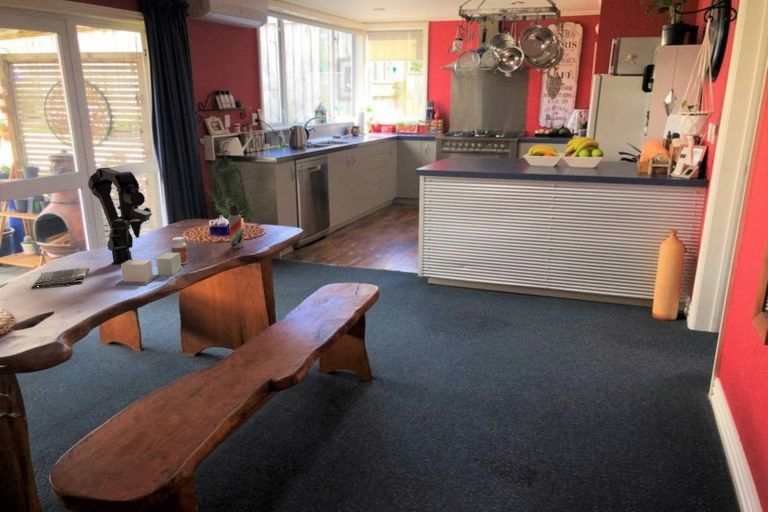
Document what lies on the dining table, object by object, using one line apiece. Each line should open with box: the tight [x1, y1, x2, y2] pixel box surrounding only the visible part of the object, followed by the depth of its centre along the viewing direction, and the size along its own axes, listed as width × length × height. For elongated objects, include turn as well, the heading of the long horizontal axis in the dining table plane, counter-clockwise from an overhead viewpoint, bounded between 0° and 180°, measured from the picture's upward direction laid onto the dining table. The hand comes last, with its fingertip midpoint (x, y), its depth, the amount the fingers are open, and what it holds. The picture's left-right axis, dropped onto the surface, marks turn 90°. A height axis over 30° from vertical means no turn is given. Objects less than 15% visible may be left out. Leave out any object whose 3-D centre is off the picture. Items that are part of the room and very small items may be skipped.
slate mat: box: [115, 274, 161, 286], centre depth 219 cm, size 12×12×1 cm
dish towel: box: [31, 267, 90, 289], centre depth 221 cm, size 19×18×3 cm
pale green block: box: [156, 252, 183, 277], centre depth 228 cm, size 9×6×7 cm, turn 177°
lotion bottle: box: [228, 205, 244, 249], centre depth 265 cm, size 6×6×20 cm
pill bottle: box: [170, 236, 189, 265], centre depth 240 cm, size 6×6×11 cm
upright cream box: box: [120, 259, 154, 282], centre depth 218 cm, size 9×6×7 cm, turn 86°
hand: (132, 240), depth 232 cm, fingers open, 9 cm apart
